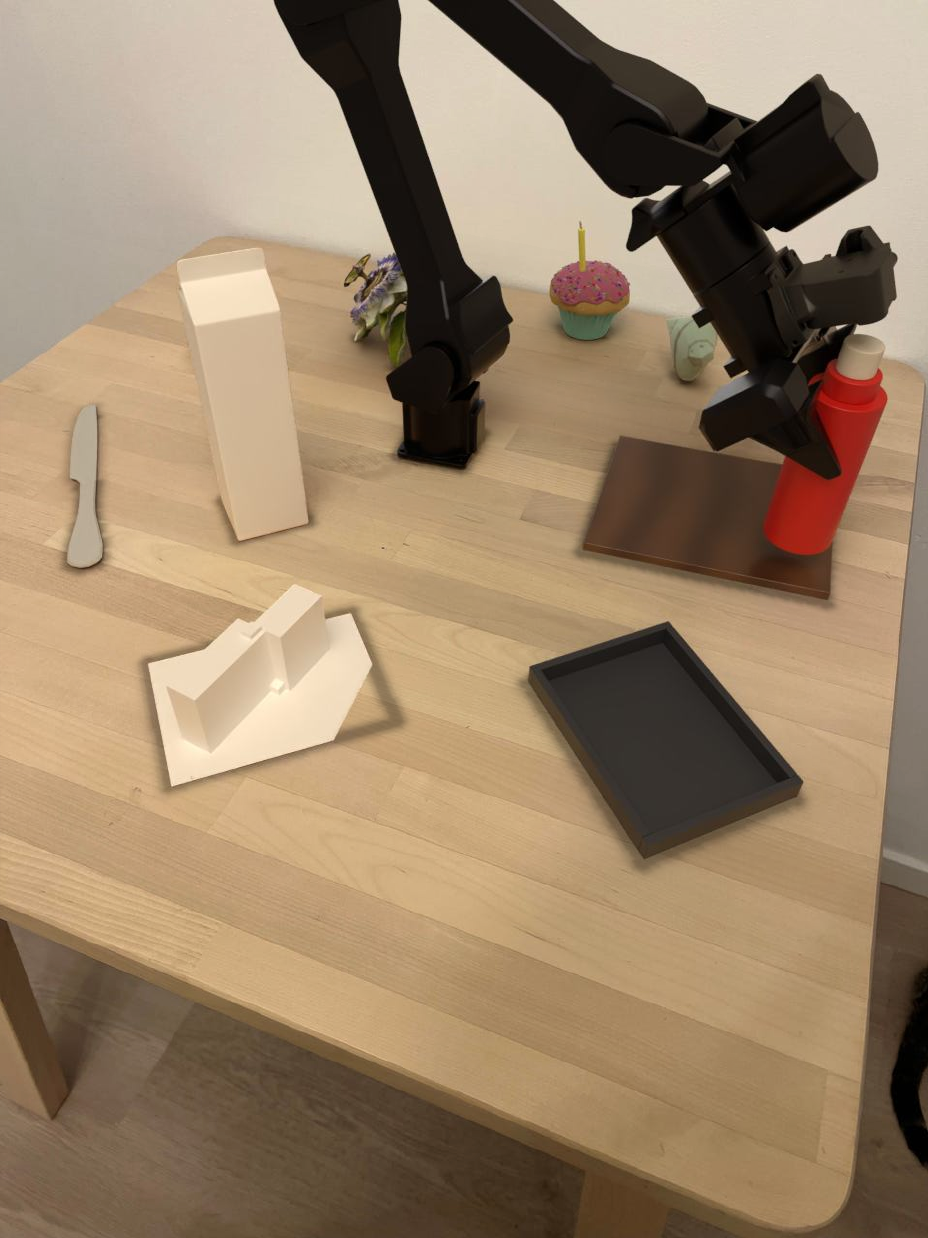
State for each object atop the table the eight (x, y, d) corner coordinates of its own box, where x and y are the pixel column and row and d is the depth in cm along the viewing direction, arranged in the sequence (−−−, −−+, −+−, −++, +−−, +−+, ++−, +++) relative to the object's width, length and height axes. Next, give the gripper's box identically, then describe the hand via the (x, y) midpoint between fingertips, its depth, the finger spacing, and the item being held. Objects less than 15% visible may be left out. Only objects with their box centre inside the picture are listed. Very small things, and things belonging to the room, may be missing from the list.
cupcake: (572, 355, 98) (584, 241, 89) (531, 320, 103) (539, 209, 95) (640, 337, 101) (657, 225, 92) (596, 304, 106) (609, 196, 97)
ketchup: (786, 561, 70) (855, 368, 58) (749, 519, 73) (807, 329, 62) (845, 547, 71) (924, 356, 59) (806, 507, 74) (873, 319, 63)
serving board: (581, 554, 75) (583, 542, 74) (618, 446, 86) (619, 435, 85) (825, 604, 71) (830, 593, 70) (831, 484, 82) (835, 473, 81)
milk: (309, 524, 77) (277, 265, 62) (237, 542, 75) (185, 280, 60) (289, 483, 81) (253, 229, 66) (219, 499, 79) (166, 242, 64)
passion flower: (368, 384, 103) (340, 273, 101) (464, 361, 103) (438, 249, 101) (360, 376, 92) (329, 251, 90) (467, 350, 92) (438, 225, 90)
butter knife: (62, 567, 72) (101, 561, 73) (73, 404, 89) (105, 400, 89) (63, 571, 72) (102, 565, 73) (74, 408, 89) (106, 404, 89)
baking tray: (527, 685, 65) (529, 665, 64) (664, 640, 68) (668, 620, 67) (642, 863, 55) (647, 845, 54) (795, 800, 58) (804, 781, 57)
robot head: (652, 362, 97) (662, 300, 92) (688, 357, 98) (700, 295, 93) (685, 402, 91) (698, 338, 87) (723, 396, 92) (738, 333, 87)
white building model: (172, 789, 58) (151, 732, 54) (145, 664, 66) (126, 605, 62) (399, 721, 62) (395, 663, 58) (349, 611, 70) (344, 553, 66)
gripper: (800, 254, 50) (934, 485, 54) (878, 153, 62) (984, 350, 66) (641, 348, 58) (767, 543, 63) (736, 243, 70) (838, 413, 74)
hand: (845, 457), depth 66 cm, fingers closed on ketchup, 5 cm apart
